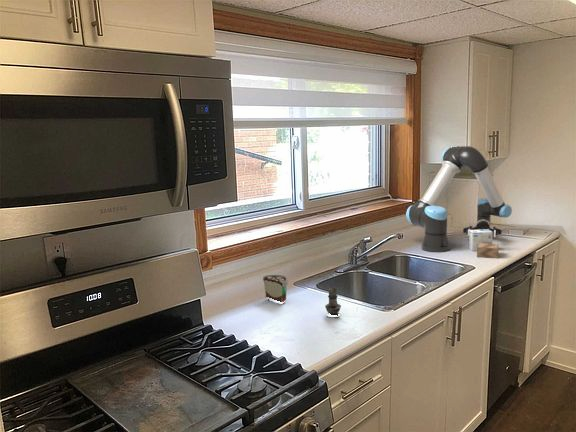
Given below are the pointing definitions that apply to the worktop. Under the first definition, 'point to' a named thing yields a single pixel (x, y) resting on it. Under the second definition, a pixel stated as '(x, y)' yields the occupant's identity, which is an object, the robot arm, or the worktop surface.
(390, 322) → the worktop surface
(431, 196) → the robot arm
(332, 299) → the dark grey tall piece
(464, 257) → the worktop surface
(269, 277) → the food container
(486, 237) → the light bulb box
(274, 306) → the worktop surface
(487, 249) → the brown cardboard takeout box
